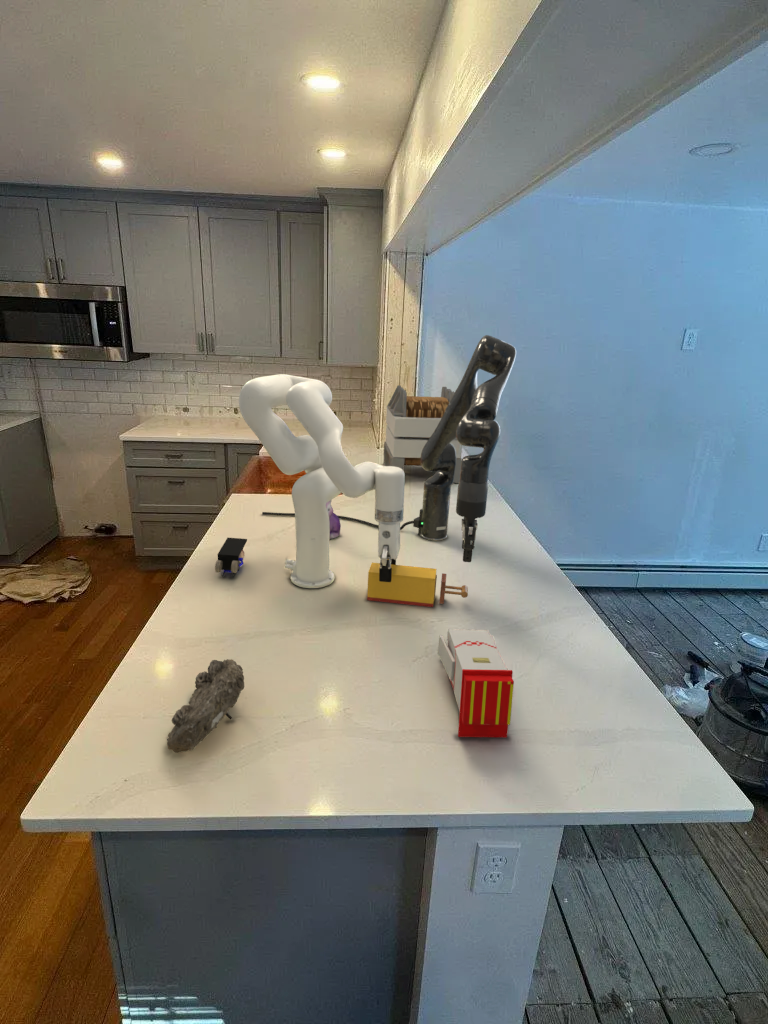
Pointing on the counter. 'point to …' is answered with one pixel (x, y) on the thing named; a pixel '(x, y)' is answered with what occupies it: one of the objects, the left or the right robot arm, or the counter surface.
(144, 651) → the counter surface
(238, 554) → the figurine character
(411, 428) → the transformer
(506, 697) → the toy
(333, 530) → the figurine
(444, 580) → the drawer
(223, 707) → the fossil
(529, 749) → the counter surface
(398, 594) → the cabinet
